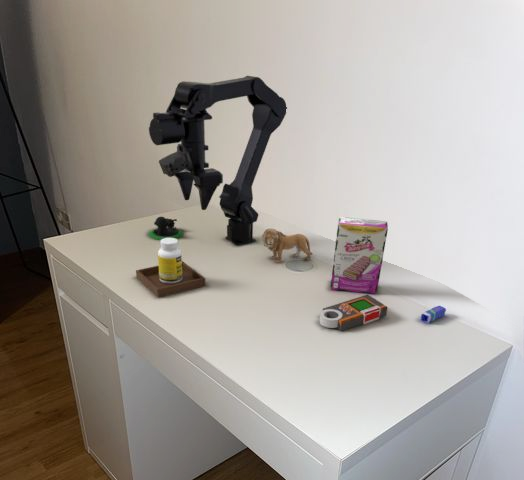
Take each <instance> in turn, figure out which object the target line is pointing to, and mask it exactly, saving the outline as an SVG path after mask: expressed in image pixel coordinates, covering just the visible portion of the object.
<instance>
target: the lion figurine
mask: <svg viewBox="0 0 524 480" xmlns="http://www.w3.org/2000/svg"><path fill="white" fill-rule="evenodd" d="M262 243H263V244H262V245H263V246H264V247H266V248H267V249H268V250H269V251H270V252H272V254H273V255H272V256H271V257H270V259H271V260H275V263H281V262H282V254H283V252H284V251H285V250H286V251H287V250H291V249H292V250H293V249H294V248H295V249H296V252H295V253H293V254H292V257H294V258H296V257H298V256H299V255H300V253H301V252H303V253H304V254H306V256H305V257H304V260H305V261H309V260H310V259H311V256H312V255H313V252H311V247H310V246H311V245H310V241H309V239H308V237H307V236H306V235H304V234H301V233H295V234H291V235H286V234H284V233H283V232H281V231H279V230H277V229H275V228H266V229H265V230H264V232H263V233H262ZM276 258H277V259H276Z"/></svg>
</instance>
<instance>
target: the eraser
mask: <svg viewBox="0 0 524 480" xmlns="http://www.w3.org/2000/svg"><path fill="white" fill-rule="evenodd" d="M446 310H447V308H446V307H444V306H442V305H437V306H434V307H432V308H430V309H428V310H425V311H423V312H421V314H420V321H422V322H424V323H426V324H429V323H431V322H433V321H435V320H437V319H439V318H442V317H444V316H445V315H446Z"/></svg>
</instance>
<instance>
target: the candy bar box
mask: <svg viewBox="0 0 524 480" xmlns="http://www.w3.org/2000/svg"><path fill="white" fill-rule="evenodd" d="M337 220H338V221H337V229H336V236H335V245H334V252H333V253H334V254H333V261H332V268H331V276H330V277H331V278H330V290H334V291H344V292H355V293H365V294H372V295H373V294H374V295H376V294H377V293H378V288H379V282H380V276H381V271H382V265H383V259H384V253H385V247H386V241H387V237H388V231H389V228H388V225H389V224H388V221H386V220H378V219H377V220H375V219H367V218H366V219H365V218H355V217H354V218H353V217H346V216H345V217H344V216H338V219H337Z"/></svg>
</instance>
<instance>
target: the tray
mask: <svg viewBox="0 0 524 480" xmlns="http://www.w3.org/2000/svg"><path fill="white" fill-rule="evenodd" d="M135 276H136V279H137V280H138V281H139V282H140V283H141V284H143V285H144V286H145V288H147V289H148V290H149V291H150V292H151V293H152V294H153V295H155V297H157V298H162V297H166V296H169V295H170V296H171V295H174V294H177V293H182V292H185V291H190V290H194V289H198V288H199V289H200V288H202V287H206V278H205V277H204V276H203V275H202V274H201V273H199V272H198V271H196V270H195V269H194V268H192V267H191V266H190V265H188V264H187V263H186V262H184V261H183V260H182V280H181V281H180V282H178V283H174V284H167V283H163V282H161V281H160V278H159V264H158V265H154V266H149V267H145V268H140V269H136V270H135Z"/></svg>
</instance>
